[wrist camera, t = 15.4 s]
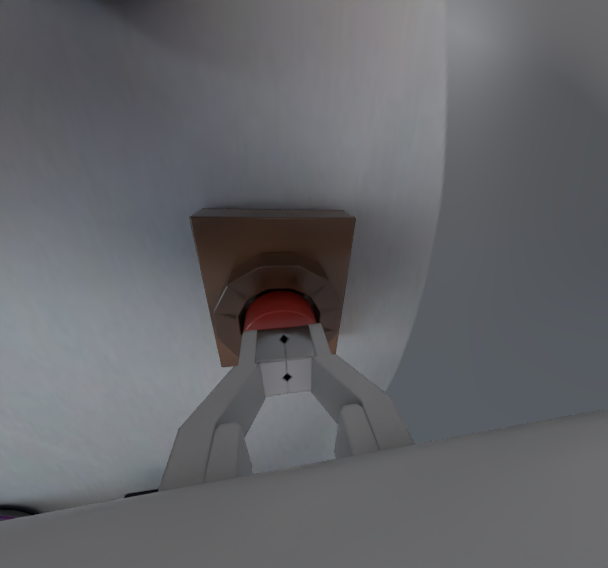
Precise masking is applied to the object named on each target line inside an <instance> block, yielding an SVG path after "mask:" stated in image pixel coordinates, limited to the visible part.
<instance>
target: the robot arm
mask: <svg viewBox="0 0 608 568" xmlns="http://www.w3.org/2000/svg"><path fill="white" fill-rule="evenodd" d="M304 391H311V392H312V394H313V395H314V396H315V397H316V398H317V400H318V401H319V402H320V403H321V405H322V406H323V407H324V408H325V409H326V411H327V412H328V413H329V414H330V416H331V417H332V418H333V419H334V420H335V422H336V423H337V424H338V429H337V436H336V442H335V449H334V453H335V457H336V459H332V460H327V461H321V462H316V463H311V464H305V465H300V466H294V467H289V468H284V469H278V470H273V471H267V472H262V473H257V474H252V464H251V461H250V457H249V454H248V450H247V447H246V443H245V440H244V438H245V436H246V434H247V432H248V430H249V428H250V426H251V425H252V423H253V421H254V419H255V417H256V415H257V413H258V411H259V410H260V408H261V406H262V404H263V402H264V400H265V397H270V396H275V395H281V394H287V393H296V392H304ZM0 568H608V408H607V409H602V410H597V411H591V412H586V413H580V414H575V415H569V416H564V417H559V418H553V419H548V420H543V421H537V422H532V423H527V424H521V425H516V426H510V427H505V428H499V429H494V430H489V431H483V432H478V433H472V434H467V435H462V436H457V437H451V438H446V439H440V440H435V441H429V442H424V443H418V444H415V442H414V440H413V438H412V436H411V434H410V432H409V431H408V429H407V427H406V425H405V423H404V421H403V419H402V417H401V415H400V413H399V411H398V410H397V408H396V406H395V404H394V402H393V400H392V398H391V397H390V396H389V395H388V394H386V393H385V392H384V391H382V390H381V389H380V388H379V387H377V386H376V385H375V384H373V383H372V382H371V381H370V380H368V379H367V378H366V377H364V376H363V375H362V374H361V373H359V372H358V371H357V370H355V369H354V368H353V367H352V366H350V365H349V364H348V363H346V362H345V361H344V360H343V359H341V358H340V357H339V356H337V355H336V354H331V351H330V348H329V345H328V342H327V339H326V336H325V333H324V330H323V327H322V325H321V324H320V323H316V324H308V325H301V326H292V327H283V328H270V329H258V330H248V331H244V332H243V335H242V342H241V349H240V357H239V364H238V366H234V367H233V368H232V369H231V370H230V371H229V372H228V374H227V375H226V376H225V377H224V378H223V379H222V380H221V382H220V383H219V384H218V385H217V386H216V387H215V388H214V389H213V391H212V392H211V393H210V394H209V395H208V396H207V397H206V399H205V400H204V401H203V402H202V403H201V404H200V405H199V407H198V408H197V409H196V410H195V411H194V412H193V413H192V414H191V416H190V417H189V418H188V419H187V420H186V421H185V422H184V424H183V425H182V426H181V427H180V428H179V429H178V432H177V435H176V438H175V441H174V444H173V447H172V450H171V453H170V456H169V459H168V462H167V465H166V468H165V471H164V474H163V477H162V480H161V483H160V486H159V489H158V492H154V493H149V494H144V495H138V496H133V497H128V498H122V499H117V500H111V501H106V502H101V503H95V504H90V505H85V506H79V507H74V508H68V509H63V510H58V511H52V512H47V513H42V514H36V515H31V516H25V517H20V518H15V519H9V520H4V521H0Z"/></svg>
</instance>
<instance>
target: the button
mask: <svg viewBox="0 0 608 568" xmlns="http://www.w3.org/2000/svg"><path fill="white" fill-rule="evenodd" d="M308 324H316V319H315V316H314V313H313V310H312V307H311V305H310V304H309V302H308V301H307V300H306V299H305V298H303V297H302V296H300V295H298V294H296V293H293V292H290V291H273V292H269V293H266V294H264V295H262V296H260V297H259V298H257V299H256V300H255V301H254V302H253V303H252V304H251V305H250V306H249V308H248V310H247V313H246V317H245V323H244V330H243V332H244V331H248V330H258V329H270V328H283V327H292V326H301V325H308Z"/></svg>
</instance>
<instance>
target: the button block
mask: <svg viewBox="0 0 608 568" xmlns="http://www.w3.org/2000/svg"><path fill="white" fill-rule="evenodd" d="M189 219H190V223H191V228H192V232H193V237H194V242H195V246H196V251H197V256H198V260H199V265H200V269H201V274H202V279H203V283H204V288H205V292H206V297H207V302H208V306H209V311H210V316H211V320H212V325H213V329H214V334H215V339H216V343H217V348H218V353H219V357H220V362H221V366H222V367H231V366H238V364H239V357H240V349H241V342H242V335H243V330H244V323H245V317H246V313H247V310H248V308H249V306H250V305H251V304H252V303H253V302H254V301H255V300H256V299H257V298H259V297H260V296H262V295H264V294H266V293H269V292H273V291H290V292H293V293H296V294H298V295H300V296H302V297H303V298H305V299H306V300H307V301H308V302H309V304H310V305H311V307H312V310H313V313H314V316H315V319H316V323H320V324H321V325H322V327H323V330H324V333H325V336H326V339H327V342H328V345H329V348H330V351H331V354H336V348H337V341H338V334H339V328H340V321H341V314H342V308H343V301H344V294H345V288H346V281H347V274H348V267H349V261H350V254H351V247H352V241H353V234H354V227H355V221H356V218H355V217H353V216H351V215H350V214H348V213H346V212H345V211H343V210H282V209H205V208H203V209H201V210H199V211H198V212H196V213H195V214H193V215H192V216H190V218H189Z"/></svg>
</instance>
